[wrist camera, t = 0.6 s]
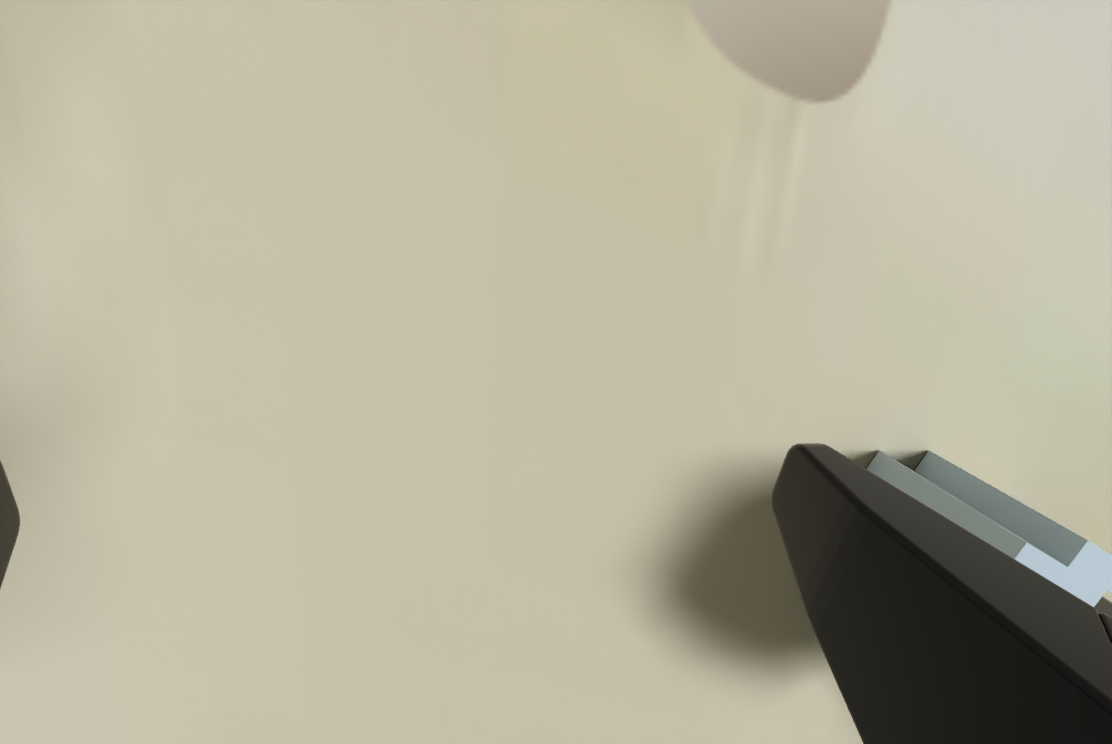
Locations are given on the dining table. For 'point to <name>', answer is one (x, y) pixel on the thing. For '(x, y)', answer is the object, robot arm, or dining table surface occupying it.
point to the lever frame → (1005, 525)
